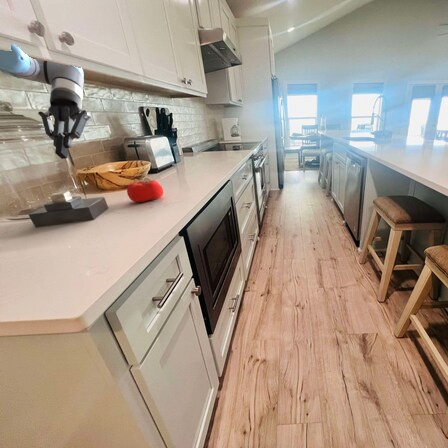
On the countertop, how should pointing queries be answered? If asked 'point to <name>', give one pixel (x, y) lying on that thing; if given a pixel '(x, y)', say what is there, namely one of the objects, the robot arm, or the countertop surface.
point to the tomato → (144, 191)
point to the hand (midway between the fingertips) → (61, 155)
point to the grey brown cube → (61, 197)
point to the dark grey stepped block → (69, 211)
